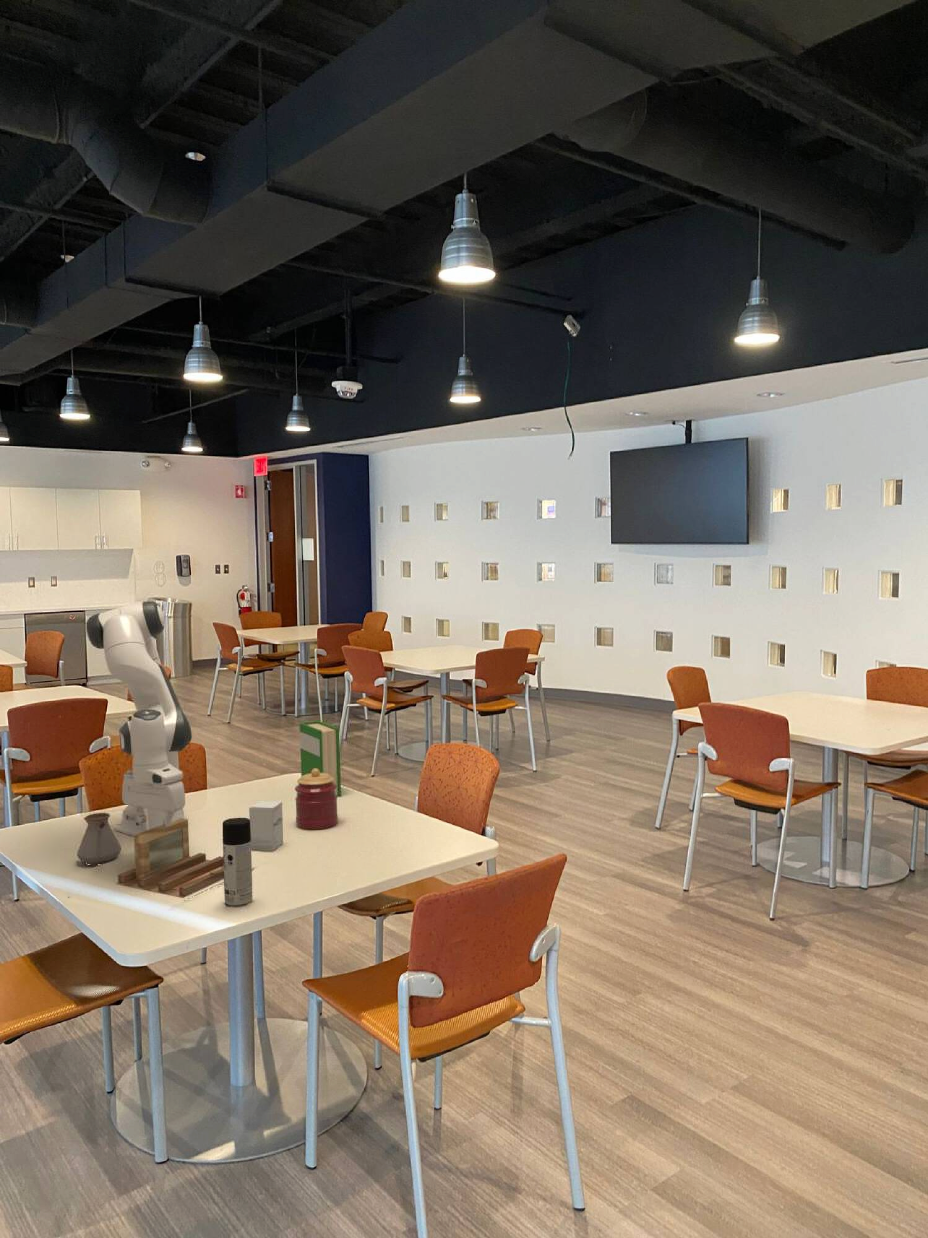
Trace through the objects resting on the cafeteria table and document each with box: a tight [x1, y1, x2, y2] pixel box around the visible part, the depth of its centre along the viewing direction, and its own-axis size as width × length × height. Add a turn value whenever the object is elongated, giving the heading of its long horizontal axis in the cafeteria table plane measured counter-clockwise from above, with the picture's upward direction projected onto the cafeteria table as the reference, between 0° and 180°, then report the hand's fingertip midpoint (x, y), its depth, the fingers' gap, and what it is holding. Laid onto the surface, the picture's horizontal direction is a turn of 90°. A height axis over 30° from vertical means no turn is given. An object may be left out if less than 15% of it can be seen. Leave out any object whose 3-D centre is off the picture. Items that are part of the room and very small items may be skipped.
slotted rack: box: [115, 852, 224, 902], centre depth 238 cm, size 23×24×4 cm
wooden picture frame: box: [133, 818, 190, 881], centre depth 241 cm, size 3×16×12 cm, turn 153°
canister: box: [294, 768, 339, 831], centre depth 284 cm, size 13×13×18 cm
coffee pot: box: [76, 812, 122, 865], centre depth 249 cm, size 21×12×15 cm, turn 27°
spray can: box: [222, 817, 253, 907], centre depth 221 cm, size 7×7×20 cm
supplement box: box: [248, 800, 284, 852], centre depth 263 cm, size 7×7×13 cm
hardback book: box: [299, 720, 342, 798], centre depth 322 cm, size 18×7×24 cm, turn 32°
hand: (154, 824), depth 240 cm, fingers open, 8 cm apart
